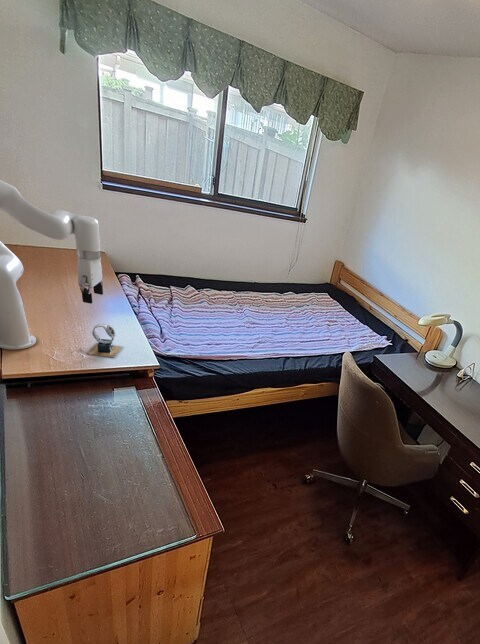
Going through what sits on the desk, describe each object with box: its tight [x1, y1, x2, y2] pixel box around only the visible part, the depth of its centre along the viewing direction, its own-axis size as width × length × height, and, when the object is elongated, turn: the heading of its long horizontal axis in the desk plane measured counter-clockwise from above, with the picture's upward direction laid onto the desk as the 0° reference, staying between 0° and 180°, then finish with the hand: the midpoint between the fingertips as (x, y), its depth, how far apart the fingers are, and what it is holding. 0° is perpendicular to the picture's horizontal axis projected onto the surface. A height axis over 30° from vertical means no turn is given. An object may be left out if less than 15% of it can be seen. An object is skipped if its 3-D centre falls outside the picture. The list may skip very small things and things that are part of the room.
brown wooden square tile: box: [87, 342, 122, 359], centre depth 157 cm, size 10×9×1 cm
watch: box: [91, 323, 116, 353], centre depth 155 cm, size 6×8×11 cm
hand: (93, 298), depth 147 cm, fingers open, 9 cm apart
